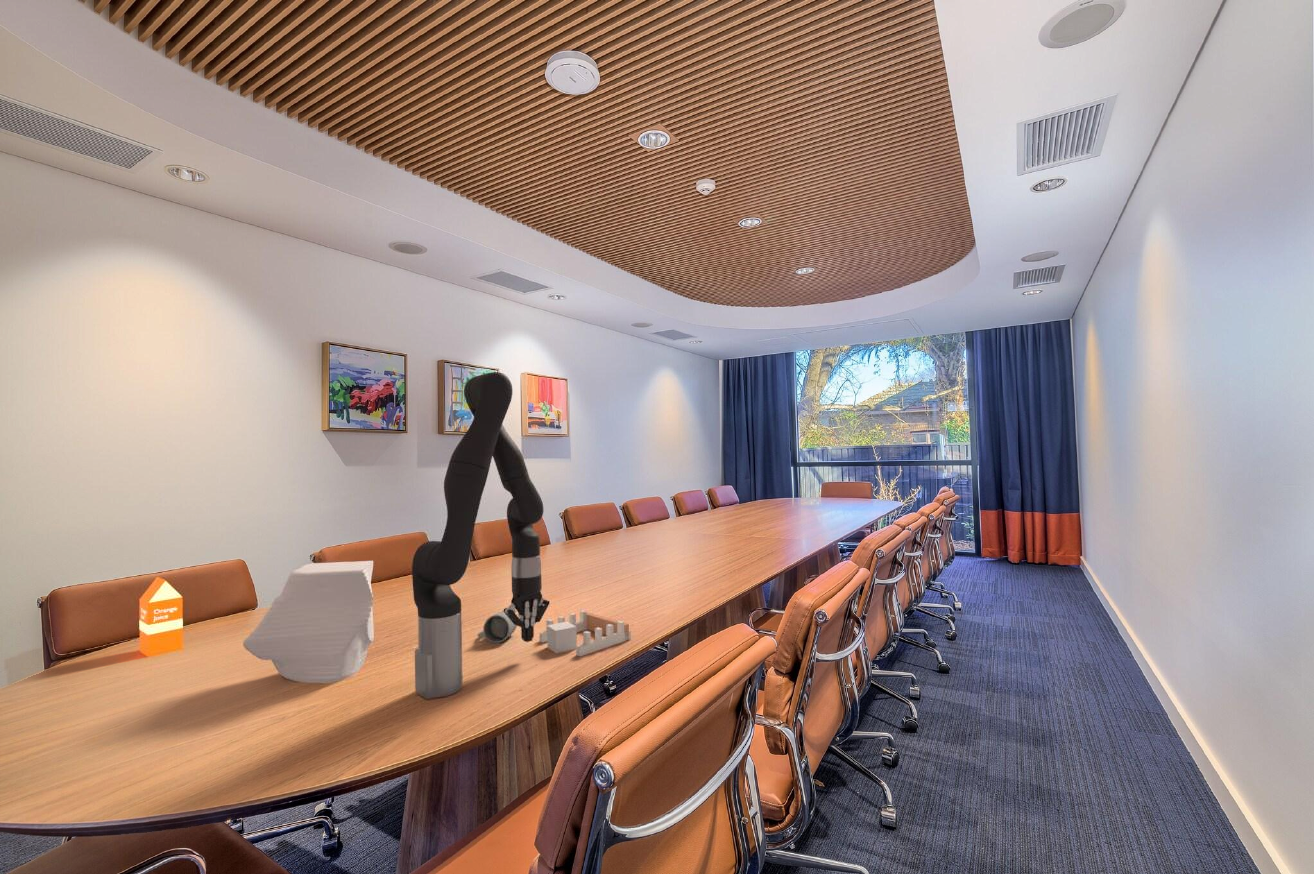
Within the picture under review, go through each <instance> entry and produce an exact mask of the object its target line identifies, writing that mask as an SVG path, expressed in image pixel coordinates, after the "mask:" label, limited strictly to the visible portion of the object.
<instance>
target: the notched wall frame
mask: <svg viewBox="0 0 1314 874" xmlns="http://www.w3.org/2000/svg"><path fill="white" fill-rule="evenodd" d="M568 618H569V619H568V620H569V621H568V622H569V623H571V624H573V625H574V626H576V633H579V632H582V637H583V638H582V639H583V641H582V643H580V644H577V646H576V649H575V650H576V651H575V653H576V654H575V655H576V657H577V656H578V657H583V656H586V655H589V654H591V653H595V652H598V651H601V650H604V649H606V648H609V647H612V646H616V645H618V644H621V643H625V642H626V641H630V640H631V639H632V630H630V624H629V623H626V622H625V621H622V620H616V619H612V618H609V617H605V616H602V615H598V614H595V613H591V612H587V611H586V610H584V609H583V610H580V611H579V621H577V615H576V613H569V614H568ZM562 622H566V618H565V616H562V615H561V616H557V623H562ZM552 624H554V620H553V619H550V618H549V619H546V624H545V625H546V627H547V625H552ZM592 632H594V639H593V640H591V639H592V638H591V637H592V636H591V635H592V634H591V633H592ZM603 635H604V636H603ZM539 642H540V643H542V644H543V643H546V642H547V630H545V631H541V632H539Z"/></svg>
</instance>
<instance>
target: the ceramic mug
mask: <svg viewBox="0 0 1314 874" xmlns="http://www.w3.org/2000/svg"><path fill="white" fill-rule="evenodd" d="M517 627H518V626H517V625H514V623H513V622H512V621H511V620H510V619H509V618H508V616H507V615H506V614H505V613H504V610H501V611H499V612H497V613H495V614H493V615H491V616H489V617H488V618H487V619H486V620H485V622H484V624H483V627H482V628H483V629H482V631H480V632H478V633H477V637H478V640H481V639H484V638H486V639H487V641H489V642H490V643H494V644H499V643H503V642H504V641H506V640H507V639H508V638H509V637H511V635H512V634H514V632H515V631H516V629H517Z"/></svg>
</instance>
